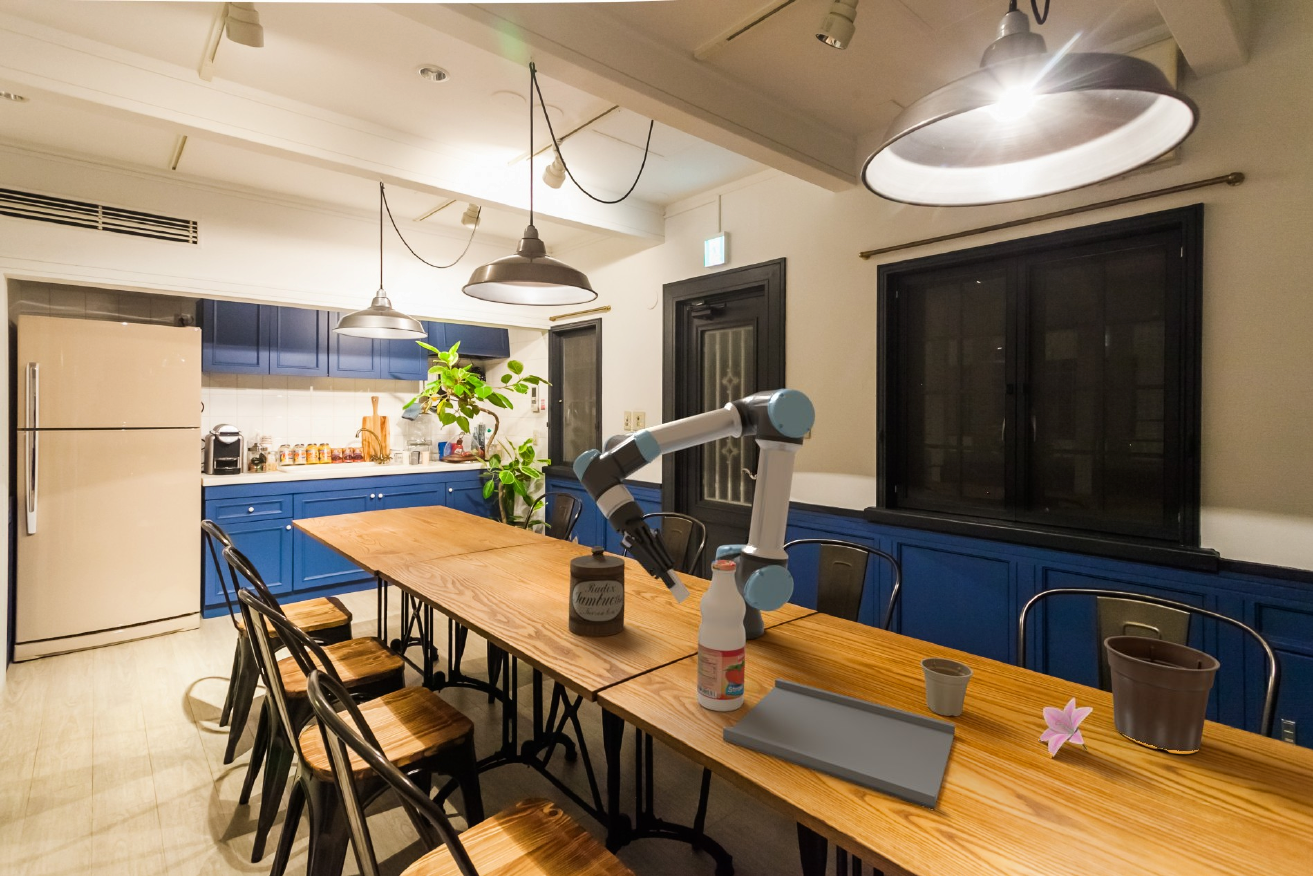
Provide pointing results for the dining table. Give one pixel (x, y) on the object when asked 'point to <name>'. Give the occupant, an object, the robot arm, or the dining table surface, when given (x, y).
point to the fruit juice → (721, 642)
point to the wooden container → (596, 594)
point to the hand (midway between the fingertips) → (684, 598)
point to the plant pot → (1160, 691)
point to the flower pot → (945, 685)
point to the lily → (1063, 725)
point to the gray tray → (849, 740)
